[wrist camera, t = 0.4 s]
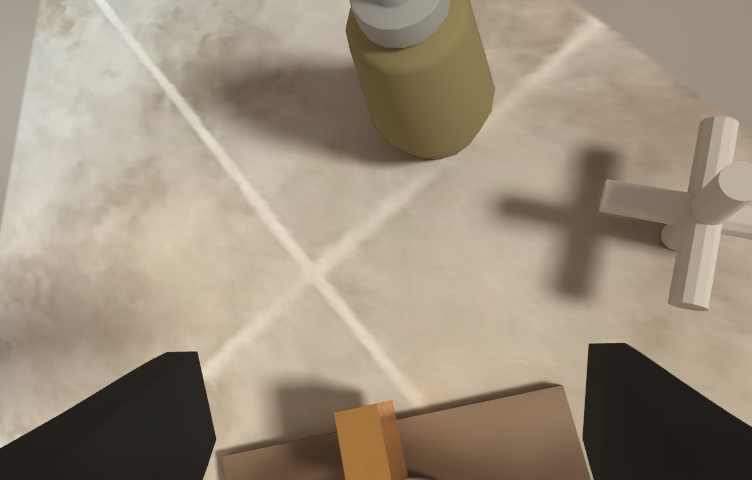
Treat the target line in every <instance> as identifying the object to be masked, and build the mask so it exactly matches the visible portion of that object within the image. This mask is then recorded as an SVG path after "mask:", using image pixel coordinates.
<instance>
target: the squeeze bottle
mask: <svg viewBox="0 0 752 480" xmlns="http://www.w3.org/2000/svg"><path fill="white" fill-rule="evenodd" d="M350 4H351V8H350V12H349V16H348V21H347V26H346V34H347V39H348V43H349V48H350V52H351V55H352V58H353V61H354V64H355V67H356V70H357V73H358V76H359V79H360V82H361V85H362V89H363V92H364V95H365V98H366V101H367V104H368V107H369V110H370V113H371V116H372V119H373V122H374V125H375V127H376V128H377V129H378V131H379V132H380V133H381V134H382V136H383V137H384V138H385V140H386V141H387V142H388V143H389V144H391V145H393V146H395V147H397V148H399V149H401V150H403V151H405V152H407V153H409V154H412V155H415V156H418V157H422V158H430V159H442V158H446V157H449V156H452V155H456V154H457V153H458V152H460V151H461V150H462V149H464V148H465V147H466V146H468V145H469V144H470V143H471V142H472V140H473V139H474V138H475V136H476V135H477V134H478V132H479V131H480V129H481V127H482V126H483V124H484V123H485V121H486V119H487V118H488V116H489V114H490V113H491V111H492V104H493V97H494V90H495V87H494V84H493V80H492V77H491V73H490V70H489V66H488V63H487V59H486V55H485V52H484V48H483V45H482V41H481V38H480V34H479V31H478V27H477V24H476V20H475V17H474V13H473V10H472V6H471V3H470V0H350Z"/></svg>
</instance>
